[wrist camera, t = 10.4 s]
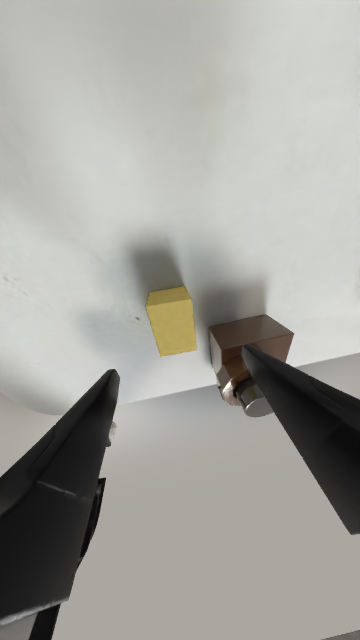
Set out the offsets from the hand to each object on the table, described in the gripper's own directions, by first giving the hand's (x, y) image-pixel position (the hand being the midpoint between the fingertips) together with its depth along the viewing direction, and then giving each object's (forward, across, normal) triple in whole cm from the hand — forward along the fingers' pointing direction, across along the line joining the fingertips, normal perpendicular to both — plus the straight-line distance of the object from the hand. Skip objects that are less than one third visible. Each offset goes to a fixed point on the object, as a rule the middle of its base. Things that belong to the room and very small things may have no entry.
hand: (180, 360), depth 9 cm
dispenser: (+8, -8, +7) cm, 14 cm away
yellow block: (+8, 0, 0) cm, 8 cm away
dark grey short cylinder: (+2, -7, +8) cm, 11 cm away
